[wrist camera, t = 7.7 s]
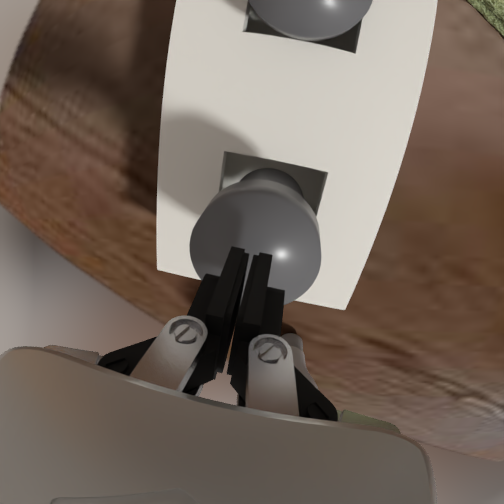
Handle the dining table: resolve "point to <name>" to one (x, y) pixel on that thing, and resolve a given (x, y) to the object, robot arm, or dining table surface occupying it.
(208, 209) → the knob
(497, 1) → the washcloth
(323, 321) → the dining table surface
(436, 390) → the dining table surface
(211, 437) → the robot arm
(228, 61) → the box
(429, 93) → the dining table surface
